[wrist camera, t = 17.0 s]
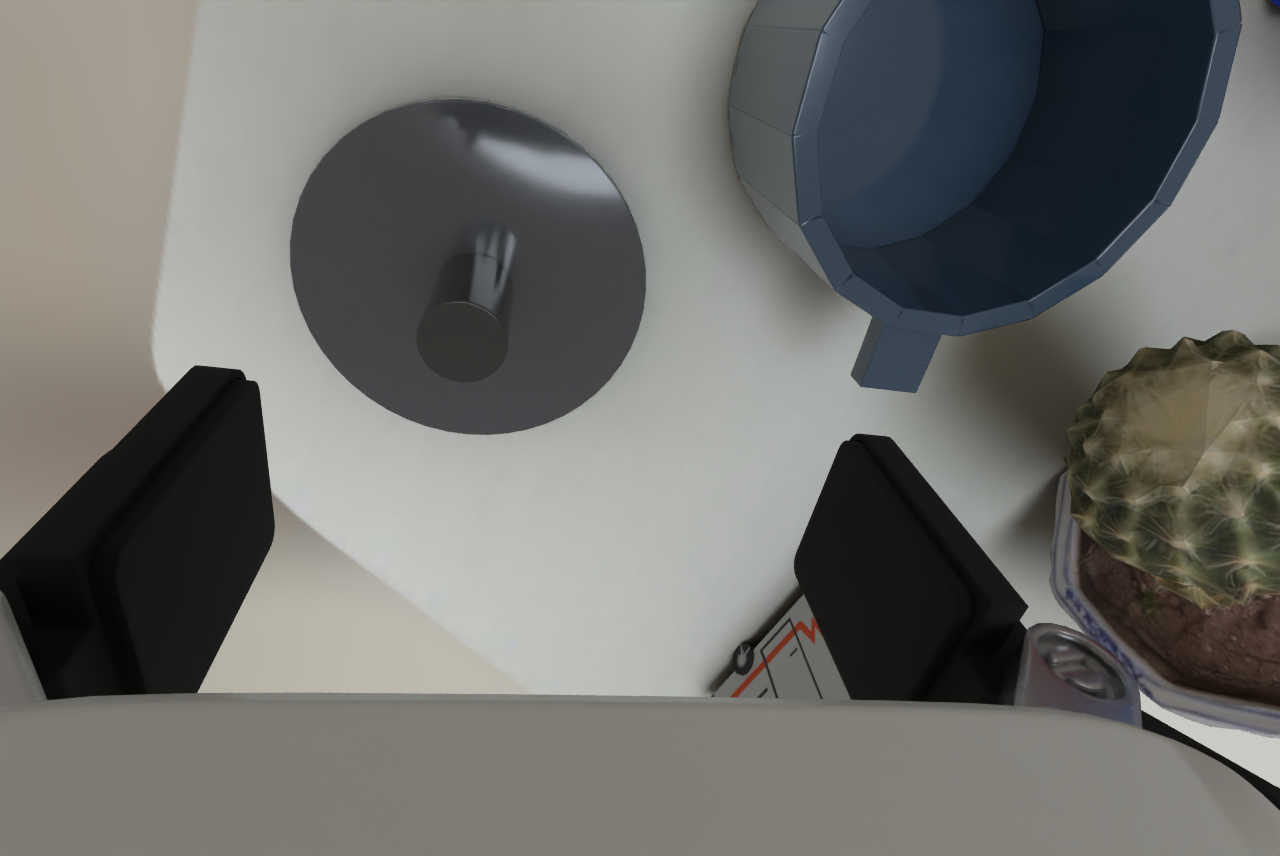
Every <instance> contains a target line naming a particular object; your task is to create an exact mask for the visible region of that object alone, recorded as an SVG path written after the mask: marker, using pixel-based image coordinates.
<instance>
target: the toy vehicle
mask: <svg viewBox="0 0 1280 856" xmlns="http://www.w3.org/2000/svg"><path fill="white" fill-rule="evenodd" d="M733 669H734V670H735V671H734V672H733V673H732V674H731V675H730V677H729V678H728V679H727V680H726V681H725V682H724V683H723V684H722V685H721V687H720V688H719V689H718V690H717V691H716V692H715V693H714V694H713V695H712V697H732V698H784V699H834V700H851V699H850V696H849V694H848V692H847V690H846V687H845V685H844V683H843V681H842V679H841V676H840V674H839V672H838V670H837V667H836V665H835V663H834V661H833V658H832V656H831V654H830V652H829V649H828V647H827V645H826V643H825V640H824V638H823V636H822V634H821V632H820V629H819V627H818V625H817V623H816V620H815V618H814V616H813V614H812V611H811V609H810V607H809V605H808V602H807V600H806V598H805V596H804V594H803V595H802V596H801V598H800V599H799V600H798V601H797V602H796V603H795V604H794V605H793V606H792V608H791V609H790V610H789V611H788V612H787V613H786V614H785V615H784V616H783V618H782V619H781V620H780V621H779V622H778V623H777V624H776V625H775V626H774V628H773V629H772V630H771V631H770V632H769V633H768V634H767V635H766V637H765V638H764V639H763V640H762V641H761V642H760V643H759V644H758V645H757V647H756V648H754V646H751V645H748V644H742V645H740V646H739V647H738V648H737V650H736V651H735V653H734V658H733Z"/></svg>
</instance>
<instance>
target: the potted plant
mask: <svg viewBox="0 0 1280 856" xmlns="http://www.w3.org/2000/svg"><path fill="white" fill-rule="evenodd" d="M1073 422H1074V425H1073V426H1072V427H1071V428H1069V429H1068V430H1066V431H1067V433H1068V436H1069V438H1070V441H1071V443H1070V445H1069V448H1068V451H1067V454H1066V455H1064V456H1063V457H1062V458H1063V459H1064V461H1065V462H1066V464H1067V471H1066V472H1065V473H1064V474H1063V475H1062V476H1061V477H1060V481H1059V486H1058V491H1057V496H1056V515H1055V529H1054V534H1053V540H1052V545H1051V550H1050V557H1051V567H1052V570H1051V575H1050V579H1049V581H1050V585H1051V589H1052V592H1053V594H1054V597H1055V599H1056V600H1057V602H1058V604H1059V605H1060V606H1061V607H1062V608H1063V609H1064V610H1065V612H1066V613H1067V614H1068V615H1069V616H1070V617H1071V618H1072V619H1073V620H1074V621H1075V622H1076V623H1077V625H1078V626H1079V627H1080V628H1081V630H1082V631H1083V632H1084V633H1085V635H1086V636H1088V637H1090V638H1091V639H1093V640H1095V641H1097V642H1098V643H1100V644H1101V645H1102V646H1104V647H1105V648H1106V649H1108V650H1109V651H1110V652H1111V653H1113V654H1114V655H1115V656H1116V657H1117V658H1118V659H1119V660H1120V661H1121V662H1122V663H1123V664H1124V665H1125V666H1126V667H1127V668H1128V670H1129V671H1130V673H1131V674H1132V676H1133V677H1134V679H1135V681H1136V682H1137V686H1138V689H1139V690H1140V691H1141V692H1142V693H1144V694H1145V695H1146V696H1147V697H1149V698H1150V699H1151V700H1152V701H1154V702H1155V703H1156V704H1158V705H1159V706H1160V707H1162V708H1163V709H1166V710H1168V711H1170V712H1172V713H1175V714H1177V715H1179V716H1182V717H1184V718H1187V719H1189V720H1192V721H1195V722H1198V723H1201V724H1204V725H1207V726H1210V727H1219V728H1227V729H1236V730H1242V731H1246V732H1250V733H1254V734H1258V735H1261V736H1265V737H1271V738H1280V345H1254V344H1253V343H1252V342H1251V341H1250V340H1249V339H1248V338H1247V337H1246V336H1245V335H1244V334H1242V333H1240V332H1237V331H1234V330H1228V331H1222V332H1220V333H1218V334H1217V335H1215V336H1213V337H1211V338H1210V339H1208V340H1206V341H1200V340H1196V339H1192V338H1188V337H1183V338H1182V339H1181V340H1180V341H1179V342H1178V343H1177V344H1176V345H1174V346H1173V347H1172V348H1171V349H1159V348H1147V347H1145V348H1141V349H1139V350H1138V351H1137V353H1136V354H1135V355H1134V357H1133V358H1132V359H1131V361H1130V362H1129V363H1128V364H1127V365H1126V366H1125V367H1123V368H1122V369H1119V370H1114V371H1108V372H1107V373H1106V374H1105V376H1104V377H1103V378H1102V379H1101V381H1100V383H1099V385H1098V386H1097V388H1096V390H1095V392H1094V394H1093V395H1092V397H1091V399H1089V400H1088V401H1086V402H1085V403H1084V404H1082V405H1081V406H1080V407H1079V408H1078V410H1077V411H1076V413H1075V415H1074V416H1073Z"/></svg>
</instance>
